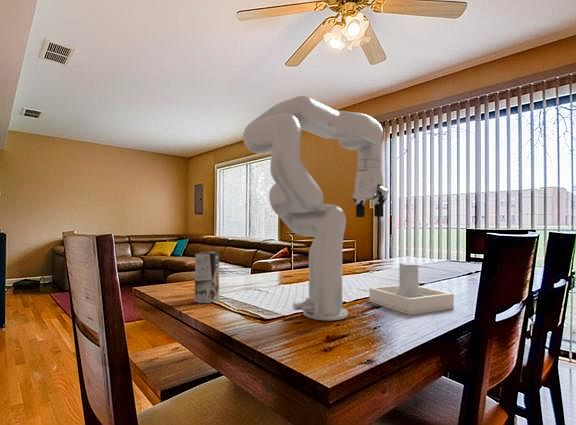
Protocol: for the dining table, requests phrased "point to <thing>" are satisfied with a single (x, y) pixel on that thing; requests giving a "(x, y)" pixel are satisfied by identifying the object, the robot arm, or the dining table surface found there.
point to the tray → (412, 300)
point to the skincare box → (408, 280)
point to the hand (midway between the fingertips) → (369, 216)
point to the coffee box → (206, 277)
